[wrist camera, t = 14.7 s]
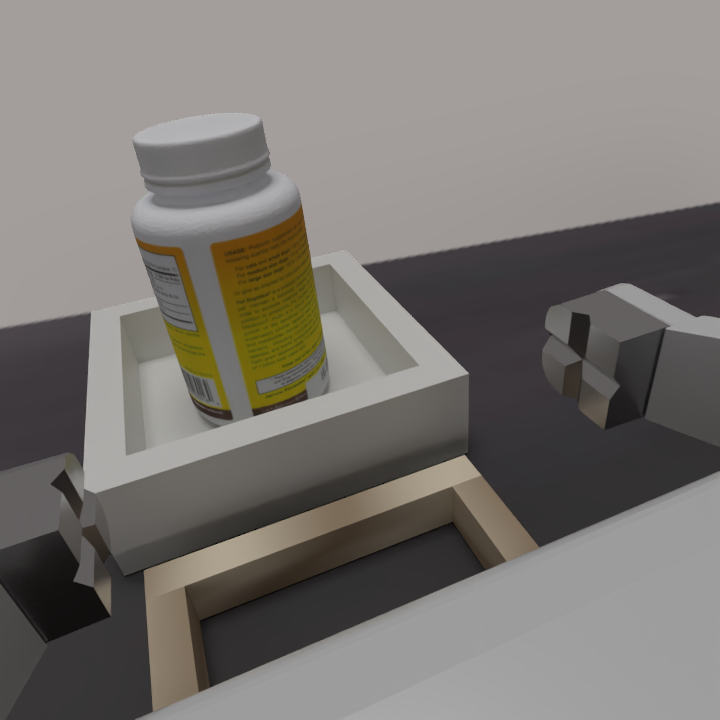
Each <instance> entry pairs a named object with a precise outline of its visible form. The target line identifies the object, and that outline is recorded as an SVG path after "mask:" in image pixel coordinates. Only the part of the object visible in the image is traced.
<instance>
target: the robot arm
mask: <svg viewBox="0 0 720 720" xmlns="http://www.w3.org/2000/svg"><path fill="white" fill-rule="evenodd" d="M545 329H546V330H547V331H548V333H549V334H550V335H551V337H550V338H549V340H548V341H547V343H546V345H545V346H544V348H543V357H542V365H543V368H544V372H545V375H546V378H547V379H548V381H549V382H550V384H551V385H552V387H553V388H554V389H556V390H557V391H558V392H559V393H560V394H561V395H564V396H567V397H571V398H574V399H577V402H578V409H579V410H580V411H582V412H583V413H584V414H585V415H586V416H588V417H589V418H590V419H591V420H592V421H594V422H595V423H596V424H597V425H598V426H600V427H601V428H602V429H603V430H606V429H609V428H612V427H615V426H618V425H621V424H624V423H627V422H630V421H633V420H636V419H638V418H641V417H644V416H645V419H647V420H650V421H652V422H655V423H657V424H660V425H663V426H665V427H668V428H671V429H673V430H676V431H679V432H681V433H684V434H686V435H689V436H692V437H694V438H697V439H700V440H702V441H705V442H707V443H710V444H713V445H715V446H718V447H720V318H715V317H709V316H701V317H698V318H696V317H694V316H692V315H690V314H688V313H686V312H684V311H682V310H680V309H678V308H676V307H674V306H672V305H670V304H668V303H666V302H664V301H663V300H661V299H659V298H657V297H655V296H653V295H651V294H649V293H647V292H645V291H643V290H641V289H639V288H637V287H635V286H633V285H631V284H622V283H620V284H617V285H615V286H612V287H609V288H606V289H603V290H600V291H598V292H596V293H593V294H590V295H587V296H583V297H580V298H577V299H574V300H571V301H568V302H565V303H561V304H558V305H555V306H552V307H550V309H549V311H548V313H547V315H546V322H545ZM110 554H111V544H110V534H109V529H108V523H107V519H106V516H105V513H104V511H103V508H102V505H101V503H100V501H99V499H98V497H97V495H96V494H95V493H93V492H91V491H88V490H86V489H84V471H83V469H82V467H81V465H80V464H79V462H78V460H77V458H76V457H75V456H74V455H73V454H71V453H70V452H68V453H65V454H61V455H58V456H54V457H51V458H47V459H44V460H40V461H37V462H33V463H30V464H26V465H23V466H19V467H15V468H12V469H8V470H5V471H1V472H0V720H5V719H6V718H7V716H8V714H9V712H10V711H11V709H12V707H13V705H14V704H15V702H16V700H17V698H18V697H19V695H20V693H21V691H22V690H23V688H24V686H25V684H26V683H27V681H28V679H29V677H30V676H31V674H32V672H33V670H34V669H35V667H36V665H37V663H38V662H39V660H40V658H41V656H42V654H43V653H44V651H45V649H46V647H47V645H46V643H47V642H50V641H52V640H54V639H57V638H59V637H62V636H64V635H67V634H69V633H72V632H74V631H77V630H79V629H82V628H84V627H86V626H89V625H91V624H94V623H96V622H99V621H101V620H104V619H106V618H109V617H111V577H110V575H109V573H108V572H107V570H106V568H105V566H104V563H105V561H106V560H107V558H108V557H109V555H110ZM135 720H720V471H718V472H716V473H714V474H711V475H709V476H707V477H704V478H702V479H700V480H697V481H695V482H693V483H690V484H688V485H686V486H683V487H681V488H678V489H676V490H674V491H671V492H669V493H667V494H664V495H662V496H660V497H657V498H655V499H653V500H650V501H648V502H646V503H643V504H641V505H639V506H636V507H634V508H631V509H629V510H627V511H624V512H622V513H620V514H617V515H615V516H613V517H610V518H608V519H606V520H603V521H601V522H599V523H596V524H594V525H592V526H589V527H587V528H585V529H582V530H580V531H577V532H575V533H573V534H570V535H568V536H566V537H563V538H561V539H559V540H556V541H554V542H552V543H549V544H547V545H545V546H542V547H540V548H537V549H535V550H533V551H530V552H528V553H526V554H523V555H521V556H519V557H516V558H514V559H512V560H509V561H507V562H505V563H502V564H500V565H497V566H495V567H493V568H490V569H488V570H486V571H483V572H481V573H479V574H476V575H474V576H472V577H469V578H467V579H465V580H462V581H460V582H457V583H455V584H453V585H450V586H448V587H446V588H443V589H441V590H439V591H436V592H434V593H432V594H429V595H427V596H425V597H422V598H420V599H417V600H415V601H413V602H410V603H408V604H406V605H403V606H401V607H399V608H396V609H394V610H392V611H389V612H387V613H385V614H382V615H380V616H377V617H375V618H373V619H370V620H368V621H366V622H363V623H361V624H359V625H356V626H354V627H352V628H349V629H347V630H345V631H342V632H340V633H338V634H335V635H333V636H330V637H328V638H326V639H323V640H321V641H319V642H316V643H314V644H312V645H309V646H307V647H305V648H302V649H300V650H298V651H295V652H293V653H290V654H288V655H286V656H283V657H281V658H279V659H276V660H274V661H272V662H269V663H267V664H265V665H262V666H260V667H258V668H255V669H253V670H251V671H248V672H246V673H243V674H241V675H239V676H236V677H234V678H232V679H229V680H227V681H225V682H222V683H220V684H218V685H215V686H213V687H211V688H208V689H206V690H204V691H201V692H199V693H196V694H194V695H192V696H189V697H187V698H185V699H182V700H180V701H178V702H175V703H173V704H171V705H168V706H166V707H164V708H161V709H159V710H157V711H154V712H152V713H149V714H147V715H145V716H142V717H140V718H138V719H135Z"/></svg>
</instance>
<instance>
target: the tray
mask: <svg viewBox="0 0 720 720" xmlns="http://www.w3.org/2000/svg"><path fill="white" fill-rule="evenodd" d="M311 263H312V269H313V275H314V281H315V287H316V293H317V299H318V305H319V311H320V317H321V323H322V330H323V335H324V342H325V347H326V353H327V359H328V367H329V377H328V382H327V385H326V387H325V389H324V391H323V393H322V394H321V396H319V397H316V398H312V399H309V400H306V401H303V402H299V403H296V404H293V405H290V406H286V407H283V408H280V409H277V410H273V411H270V412H267V413H264V414H260V415H257V416H254V417H251V418H248V419H244V420H241V421H238V422H235V423H231V424H228V425H225V426H220V425H217V424H214V423H212V422H211V421H209V420H207V419H206V418H204V417H203V416H202V415H201V414H200V413H199V412H198V411H197V409H196V408H195V406H194V404H193V402H192V399H191V397H190V395H189V392H188V388H187V385H186V382H185V380H184V377H183V374H182V371H181V368H180V366H179V363H178V359H177V357H176V354H175V351H174V348H173V345H172V342H171V339H170V337H169V334H168V331H167V328H166V325H165V322H164V319H163V317H162V314H161V310H160V307H159V305H158V302H157V299H156V296H153V297H149V298H145V299H141V300H136V301H132V302H128V303H124V304H120V305H116V306H112V307H108V308H104V309H99V310H95V311H92V312H91V329H90V348H89V368H88V387H87V406H86V426H85V445H84V464H83V471H84V489H86V490H88V491H91V492H93V493H95V494H96V495H97V497H98V499H99V501H100V503H101V505H102V508H103V511H104V513H105V516H106V519H107V523H108V529H109V534H110V544H111V553H112V554H113V556H114V558H115V560H116V562H117V564H118V565H119V567H120V569H121V571H122V573H123V575H124V576H126V575H128V574H131V573H134V572H137V571H140V570H142V569H145V568H148V567H151V566H153V565H156V564H159V563H162V562H165V561H167V560H170V559H173V558H176V557H178V556H181V555H184V554H187V553H190V552H192V551H195V550H198V549H201V548H204V547H206V546H209V545H212V544H215V543H217V542H220V541H223V540H226V539H229V538H231V537H234V536H237V535H240V534H242V533H245V532H248V531H251V530H254V529H256V528H259V527H262V526H265V525H268V524H270V523H273V522H276V521H279V520H281V519H284V518H287V517H290V516H293V515H295V514H298V513H301V512H304V511H306V510H309V509H312V508H315V507H318V506H320V505H323V504H326V503H329V502H332V501H334V500H337V499H340V498H343V497H345V496H348V495H351V494H354V493H357V492H359V491H362V490H365V489H368V488H370V487H373V486H376V485H379V484H382V483H384V482H387V481H390V480H393V479H396V478H398V477H401V476H404V475H407V474H409V473H412V472H415V471H418V470H421V469H423V468H426V467H429V466H432V465H434V464H437V463H440V462H443V461H446V460H448V459H451V458H454V457H457V456H460V455H462V454H465V453H468V407H469V373H468V372H467V371H466V370H465V369H464V368H463V367H462V366H461V365H460V364H459V363H458V362H457V361H456V360H455V359H454V358H453V357H452V356H451V355H450V354H449V353H448V352H447V351H446V350H445V349H444V348H443V347H442V346H441V345H440V344H439V343H438V342H437V341H436V340H435V339H434V338H433V337H432V336H431V335H430V334H429V333H428V332H427V331H426V330H425V329H424V328H423V327H422V326H421V325H420V324H419V323H418V322H417V321H416V320H415V319H414V318H413V317H412V316H411V315H410V314H409V313H408V312H407V311H406V310H405V309H404V308H403V307H402V306H401V305H400V304H399V303H398V302H397V301H396V300H395V299H394V298H393V297H392V296H391V295H390V294H389V293H388V292H387V291H386V290H385V289H384V288H383V287H382V286H381V285H380V284H379V283H378V282H377V281H376V280H375V279H374V278H373V277H372V276H371V275H370V274H369V273H368V272H367V271H366V270H365V269H364V268H363V267H362V266H361V265H360V264H359V263H358V262H357V261H356V260H355V259H354V258H353V257H352V256H351V255H350V254H349V253H348V252H347V251H346V250H342V251H338V252H333V253H329V254H325V255H322V256H317V257H313V258H311Z"/></svg>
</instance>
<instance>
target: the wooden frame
mask: <svg viewBox="0 0 720 720" xmlns="http://www.w3.org/2000/svg"><path fill="white" fill-rule="evenodd" d="M450 522H453V523H454V525H455V526H456V528H457V529H458V531H459V532H460V534H461V535H462V537H463V538H464V539H465V541H466V542H467V544H468V545H469V547H470V548H471V550H472V551H473V553H474V554H475V556H476V557H477V559H478V560H479V562H480V563H481V565H482V566H483V568H484V569H485V571H486V570H488V569H490V568H493V567H495V566H497V565H500V564H502V563H505V562H507V561H509V560H512V559H514V558H516V557H519V556H521V555H523V554H526V553H528V552H530V551H533V550H535V549H537V548H539V546H538V545H537V544H536V543H535V541H534V540H533V539H532V538H531V536H530V535H529V534H528V533H527V531H526V530H525V529H524V528H523V527H522V525H521V524H520V523H519V522H518V520H517V519H516V518H515V517H514V515H513V514H512V513H511V512H510V510H509V509H508V508H507V507H506V505H505V504H504V503H503V502H502V500H501V499H500V498H499V497H498V496H497V494H496V493H495V492H494V491H493V489H492V488H491V487H490V486H489V484H488V483H487V482H486V481H485V479H484V478H483V477H482V476H481V474H480V473H479V472H478V471H477V469H476V468H475V467H474V466H473V465H472V463H471V462H470V461H469V460H468V458H467V457H466V456H465V455H463V456H460V457H457V458H455V459H452V460H449V461H446V462H443V463H441V464H438V465H435V466H432V467H430V468H427V469H424V470H421V471H418V472H416V473H413V474H410V475H407V476H405V477H402V478H399V479H396V480H393V481H391V482H388V483H385V484H382V485H380V486H377V487H374V488H371V489H368V490H366V491H363V492H360V493H357V494H355V495H352V496H349V497H346V498H343V499H341V500H338V501H335V502H332V503H330V504H327V505H324V506H321V507H318V508H316V509H313V510H310V511H307V512H305V513H302V514H299V515H296V516H293V517H291V518H288V519H285V520H282V521H280V522H277V523H274V524H271V525H268V526H266V527H263V528H260V529H257V530H255V531H252V532H249V533H246V534H243V535H241V536H238V537H235V538H232V539H230V540H227V541H224V542H221V543H218V544H216V545H213V546H210V547H207V548H205V549H202V550H199V551H196V552H193V553H191V554H188V555H185V556H182V557H180V558H177V559H174V560H171V561H168V562H166V563H163V564H160V565H157V566H155V567H152V568H149V569H146V570H144V581H145V596H146V612H147V627H148V642H149V657H150V672H151V687H152V703H153V712H154V711H157V710H159V709H161V708H164V707H166V706H168V705H171V704H173V703H175V702H178V701H180V700H182V699H185V698H187V697H189V696H192V695H194V694H196V693H199V692H201V691H204V690H206V689H208V688H210V684H209V678H208V671H207V665H206V658H205V652H204V645H203V638H202V632H201V625H200V620H202V619H205V618H207V617H210V616H213V615H215V614H218V613H220V612H223V611H225V610H228V609H230V608H233V607H236V606H238V605H241V604H243V603H246V602H248V601H251V600H253V599H256V598H259V597H261V596H264V595H266V594H269V593H271V592H274V591H276V590H279V589H282V588H284V587H287V586H289V585H292V584H294V583H297V582H300V581H302V580H305V579H307V578H310V577H312V576H315V575H317V574H320V573H323V572H325V571H328V570H330V569H333V568H335V567H338V566H340V565H343V564H346V563H348V562H351V561H353V560H356V559H358V558H361V557H363V556H366V555H369V554H371V553H374V552H376V551H379V550H381V549H384V548H387V547H389V546H392V545H394V544H397V543H399V542H402V541H404V540H407V539H410V538H412V537H415V536H417V535H420V534H422V533H425V532H427V531H430V530H433V529H435V528H438V527H440V526H443V525H445V524H448V523H450Z"/></svg>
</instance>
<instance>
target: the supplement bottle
mask: <svg viewBox="0 0 720 720" xmlns="http://www.w3.org/2000/svg"><path fill="white" fill-rule="evenodd" d="M133 145H134V148H135V151H136V155H137V158H138V161H139V165H140V168H141V176H142V177H143V178H144V183H145V187H146V189H147V190H148V191H150V192H149V193H148V194H146V195H145V196H143V197H142V198H141V199H140V200H139V201H138V202H137V204H136V205H135V207H134V208H133V211H132V214H131V223H132V228H133V231H134V235H135V238H136V241H137V244H138V247H139V250H140V252H141V256H142V259H143V262H144V264H145V267H146V270H147V273H148V275H149V278H150V281H151V284H152V287H153V290H154V293H155V296H156V299H157V302H158V305H159V307H160V310H161V314H162V317H163V319H164V322H165V325H166V328H167V331H168V334H169V337H170V339H171V342H172V345H173V348H174V351H175V354H176V357H177V359H178V363H179V366H180V368H181V371H182V374H183V377H184V380H185V382H186V385H187V388H188V392H189V395H190V397H191V399H192V402H193V404H194V406H195V408H196V409H197V411H198V412H199V413H200V414H201V415H202V416H203V417H204V418H206V419H207V420H209V421H211V422H212V423H214V424H217V425H220V426H225V425H228V424H231V423H235V422H238V421H241V420H244V419H248V418H251V417H254V416H257V415H260V414H264V413H267V412H270V411H273V410H277V409H280V408H283V407H286V406H290V405H293V404H296V403H299V402H303V401H306V400H309V399H312V398H316V397H319V396H321V394H322V393H323V391H324V389H325V387H326V385H327V382H328V377H329V367H328V359H327V353H326V347H325V342H324V335H323V330H322V323H321V317H320V311H319V305H318V299H317V293H316V287H315V281H314V275H313V269H312V263H311V257H310V251H309V245H308V240H307V233H306V228H305V221H304V215H303V210H302V204H301V198H300V194H299V190H298V188H297V186H296V184H295V183H294V182H293V181H292V180H291V179H290V178H289V177H287V176H286V175H284V174H282V173H279V172H277V171H273V170H269V169H270V166H271V164H270V159H269V157H268V156H269V154H270V152H269V150H268V147H267V144H266V140H265V134H264V129H263V124H262V121H261V118H259V117H258V116H256V115H253V114H247V113H219V114H209V115H201V116H193V117H188V118H183V119H177V120H173V121H169V122H165V123H161V124H158V125H155V126H152V127H149V128H147V129H145V130H142V131H140V132H139V133H137V134H136V135H135V136H134V138H133Z"/></svg>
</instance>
